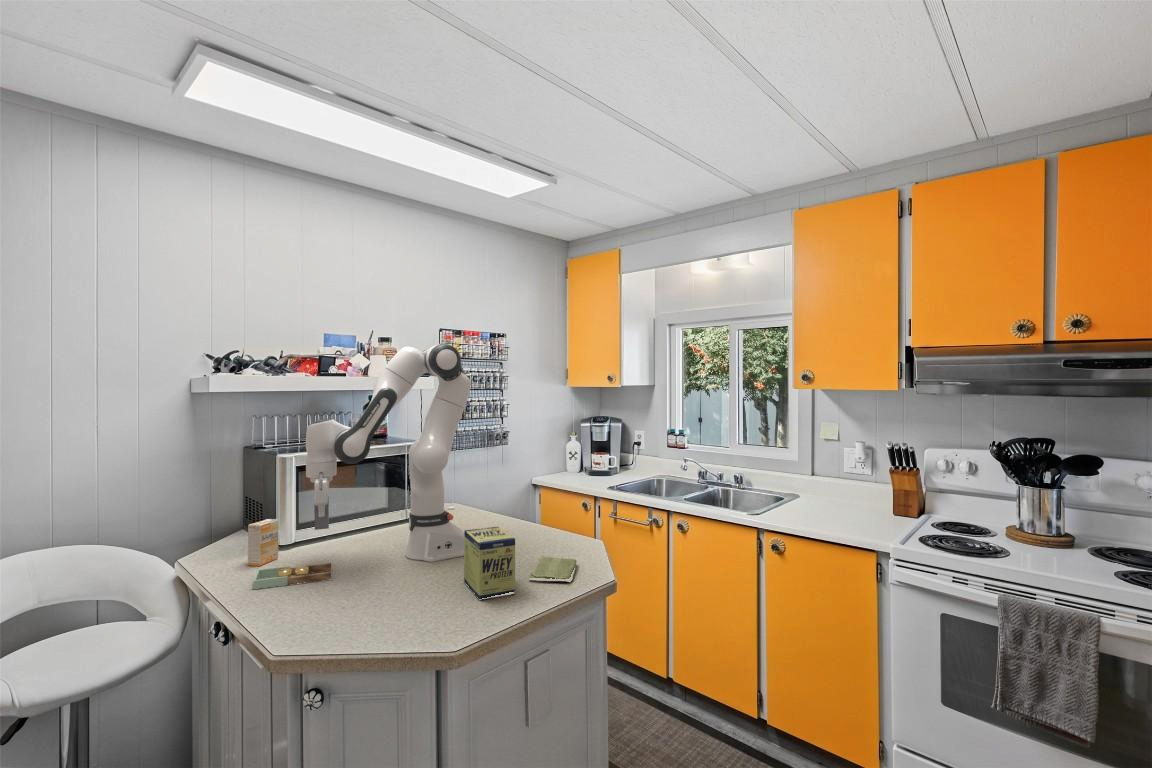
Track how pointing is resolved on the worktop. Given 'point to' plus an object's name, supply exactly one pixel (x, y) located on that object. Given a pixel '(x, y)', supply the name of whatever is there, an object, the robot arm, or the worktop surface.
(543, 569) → the washcloth
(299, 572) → the puck
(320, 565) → the slot rails
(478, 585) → the protein box
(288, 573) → the puck
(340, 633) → the worktop surface
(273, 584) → the chip tray
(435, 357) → the robot arm
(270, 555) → the supplement box
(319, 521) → the rake block
